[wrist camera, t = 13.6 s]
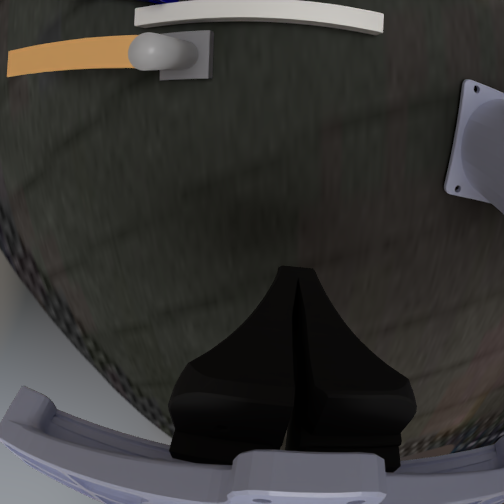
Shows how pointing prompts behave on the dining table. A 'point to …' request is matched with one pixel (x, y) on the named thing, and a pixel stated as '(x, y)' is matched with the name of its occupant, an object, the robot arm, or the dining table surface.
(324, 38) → the dining table surface
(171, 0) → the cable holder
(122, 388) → the dining table surface
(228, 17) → the rails
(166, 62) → the tan lever handle
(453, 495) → the robot arm
